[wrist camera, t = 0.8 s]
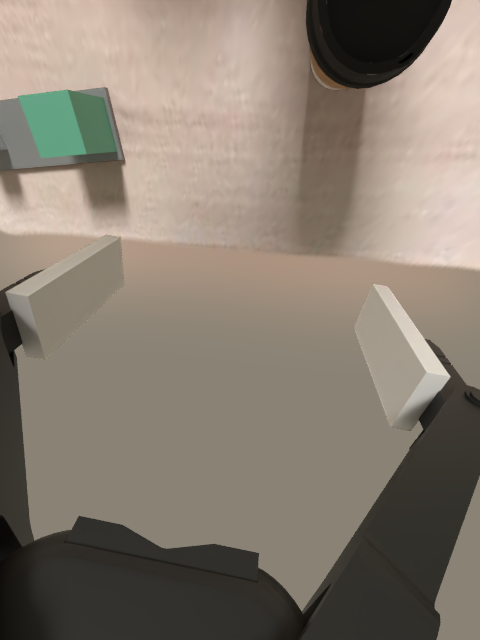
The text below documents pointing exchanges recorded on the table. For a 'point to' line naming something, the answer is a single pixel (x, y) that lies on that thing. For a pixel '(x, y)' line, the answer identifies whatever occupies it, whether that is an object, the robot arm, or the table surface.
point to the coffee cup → (368, 38)
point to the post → (2, 143)
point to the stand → (58, 129)
